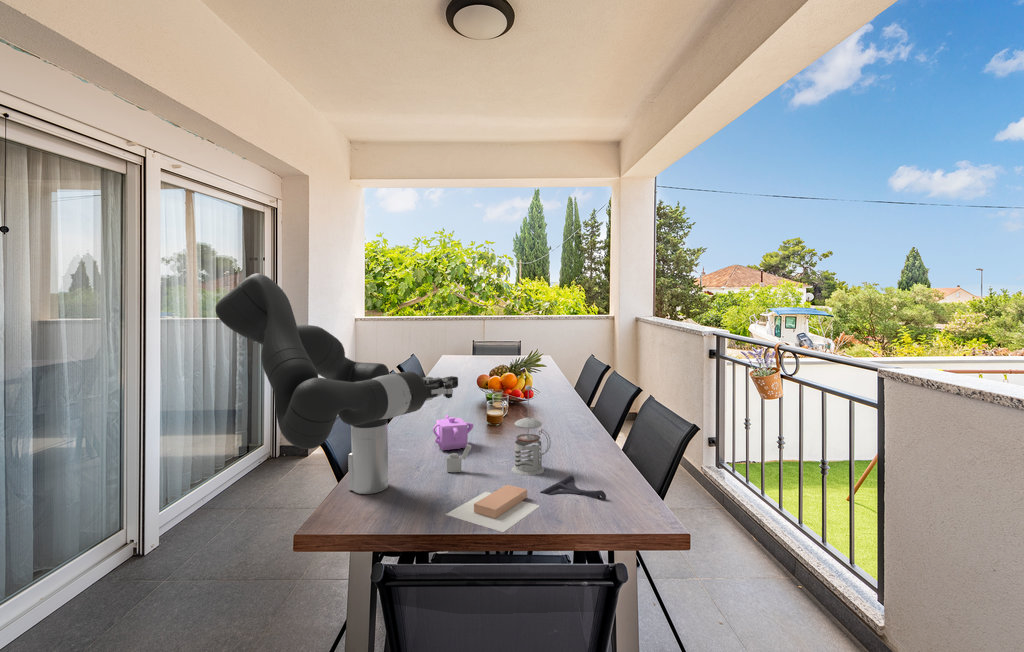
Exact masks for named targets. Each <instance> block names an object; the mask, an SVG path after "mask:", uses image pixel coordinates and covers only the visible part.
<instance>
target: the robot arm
mask: <svg viewBox="0 0 1024 652" xmlns="http://www.w3.org/2000/svg"><path fill="white" fill-rule="evenodd" d="M215 313H216V316H217V318H218V319H219V320H220V322H222V324H224V325H225V326H226V327H227V328H229V329H230V330H232V331H233V332H235V333H236V334H238V335H240V336H242V337H244V338H246V339H248V340H250V341H252V342H254V343H258V344H259V345H261V346H262V347H261V365H262V368H263V372H264V374H265V375H266V377H267V380H268V382H269V385H270V386H271V389H272V391H273V396H274V407H275V412H276V421H277V423H278V427H279V430H280V432H281V433H280V434H282V436H283V437H284V439H285V440H286V441H287V442H289V444H291V445H292V446H294V447H296V448H298V449H304V450H311V449H315V448H319V446H321V445H323V444H324V443H325V442H326V441H327V439H328V438H329V436H330V434H331V432H332V430H333V427H334V424H335V422H336V420H337V418H338V417H339V419H340V420H341V421H342V422H343V423H344V424H346V425H348V426H350V428H351V429H350V433H351V434H350V438H351V439H350V440H351V452H350V453H348V455H347V456H348V457H347V461H348V467H347V468H348V490H349V491H352V492H353V493H355V494H359V495H360V494H362V495H370V494H372V495H373V494H376V493H380V492H383V491H385V490H387V489H388V487H389V442H388V441H389V439H388V438H389V437H388V435H389V433H388V431H389V430H388V426H389V425H388V424H389V423H388V421H389V420H388V419H392V418H395V417H399V416H403V415H407V414H410V413H415V412H417V411H418V410H420V409H421V408H422V407H423V406H424V404H425V402H426V401H431V400H433V399H434V398H437V397H441V396H443V397H445V398H447V399H451V398H453V393H454V391H453V389H455V388H458V387H459V377H458V376H453V375H451V376H445V377H439V376H438V377H432V376H425V377H421V376H420V375H419V374H418V373H416V372H414V371H412V370H411V371H409V370H408V371H402V372H396V373H392V374H390V371H389V368H388V366H387V365H386V364H384V363H380V362H379V363H377V362H359V361H354V360H352V359H350V358H348V357H346V352H345V348H344V346H343V345H344V344H343V343H342V342H341V341H340V340H339V339H338V338H337V337H335V336H334V335H333V334H332V333H330V332H329V331H328V330H326V329H324V328H323V327H320V326H318V325H317V326H316V325H313V324H312V325H310V324H297V322H296V318H295V315H294V312H293V308H292V305H291V303H290V300H289V298H288V296H287V294H286V292H285V291H284V290H283V289H282V288H281V287H280V286H279V285H278V284H277V283H276V282H275V281H274V280H273V279H271V278H270V277H268V276H267V275H265V274H263V273H258V272H257V273H253V274H250V275H249V276H247V277H246V278H244V279H243V280H242V281H241V282H240V283H238V284H237V285H236V286H235V287H234V288H232V289H231V290H230V291H229V292H228V293H226V294H225V295H224V296H223V297H221V299H220V300H219V301H218V302H217V303H216V305H215ZM319 376H321V377H319Z"/></svg>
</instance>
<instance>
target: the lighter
mask: <svg viewBox="0 0 1024 652" xmlns="http://www.w3.org/2000/svg"><path fill="white" fill-rule="evenodd" d="M471 448H472V445H471V444H469V443H468V444H467V446H466V448H464V450H463V452H462V455H459V456H458V454H459V453H458V452H457V453H456V452H455V453H454V452H453V453H449V455H447V457H446V473H447V472H461V473H462V467H463V465H462V463H463V462H462V459H463V460H466V459H467V457H468V455H469V453H470V451H471Z"/></svg>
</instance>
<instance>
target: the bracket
mask: <svg viewBox="0 0 1024 652" xmlns="http://www.w3.org/2000/svg"><path fill="white" fill-rule="evenodd" d="M539 493H540V494H544V495H548V496H553V495H554V496H555V495H562V494H564V495H565V494H568V495H569V494H571V495H581V496H584V497H587V498H591V499H594V500H598V501H602V502H603V501H606V499H607V494H606V493H605V492H604V490H600V489H599V490H585V489H580V488H578V487H577V486H576V485H575V478H574V476H573V475H569V476H568V477H566V478H564V479H561V480H560V481H558V482H555V483H554V484H552V485H551V486H549V487H548V486H547V488H544V489H543V490H541V491H540V492H539Z"/></svg>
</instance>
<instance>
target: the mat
mask: <svg viewBox="0 0 1024 652" xmlns="http://www.w3.org/2000/svg"><path fill="white" fill-rule="evenodd" d="M492 493H493V492H489V491H484V492H483V493H481V494H479V495H477V496H476V497H474V498H472V499H470V500H468V501H466V502H465V503H463V504H461V505H458V507H456V508H455V509H452V510H450V511H449V512H447V513H445V514H444V515H446V516H448V517H451V518H455V519H458V520H461V521H465V522H467V523H468V522H469V523H472V524H475V525H477V526H478V525H479V526H481V527H484V528H488V529H491V530H494V531H497V532H501V533H505V532H506V531H507V530H509V529H510V528H512V527H513V526H515V525H516V524H518V522H520V521H521V520H523V519H525V518H526V517H527V516H528V515H530V514H531V513H533V512H534V511H535V510H537V509H538V508H540V505H538V504H535V503H532V502H527V501H524V500H522V501H521V502H519V503H518V504H516V505H515V506H513V507H512V508H510V509H509V510H507V511H506V512H504V513H503V514H501V515H500V516H498V517H497V518H492V517H489V516H485V515H482V514H478V513H475V512H474V503H476V502H478V501H479V500H481V499H483V498H485V497H486V496H488V495H490V494H492Z"/></svg>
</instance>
